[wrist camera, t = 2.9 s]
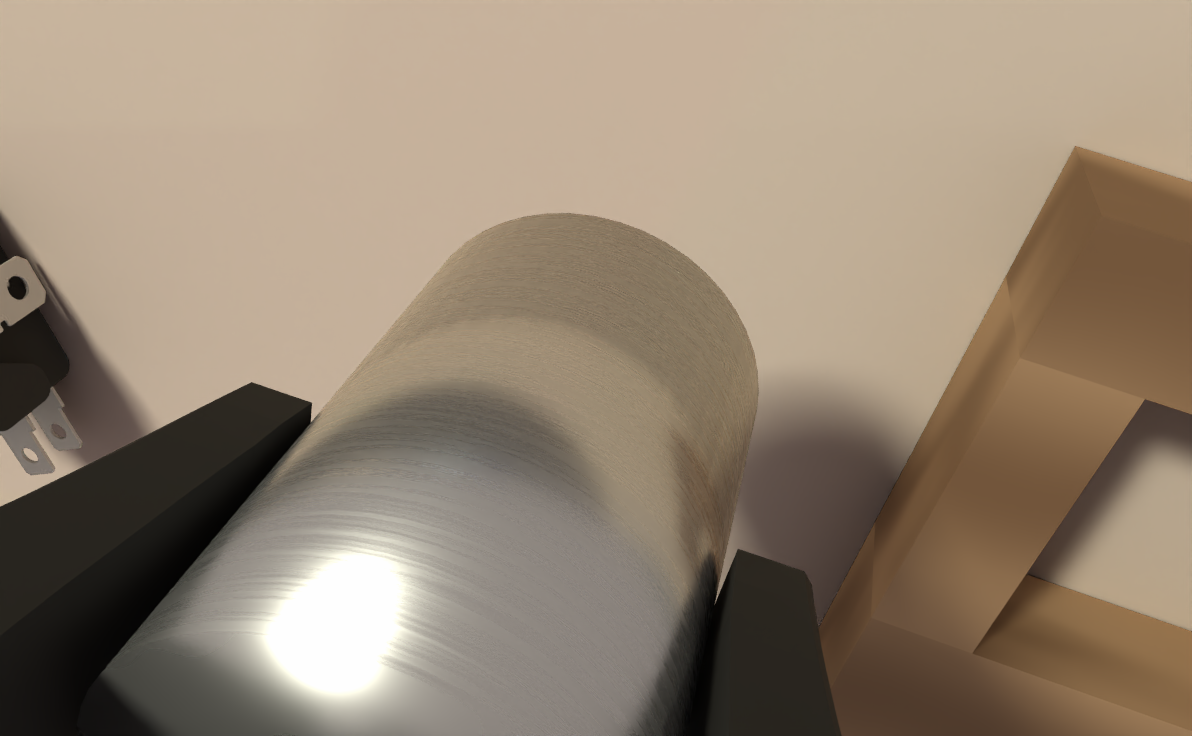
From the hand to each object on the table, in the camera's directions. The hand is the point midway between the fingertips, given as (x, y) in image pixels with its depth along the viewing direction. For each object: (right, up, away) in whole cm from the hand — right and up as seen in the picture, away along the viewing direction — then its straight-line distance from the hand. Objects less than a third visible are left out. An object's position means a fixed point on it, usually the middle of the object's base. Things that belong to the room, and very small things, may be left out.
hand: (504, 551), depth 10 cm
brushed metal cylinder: (+1, +2, +2) cm, 3 cm away
